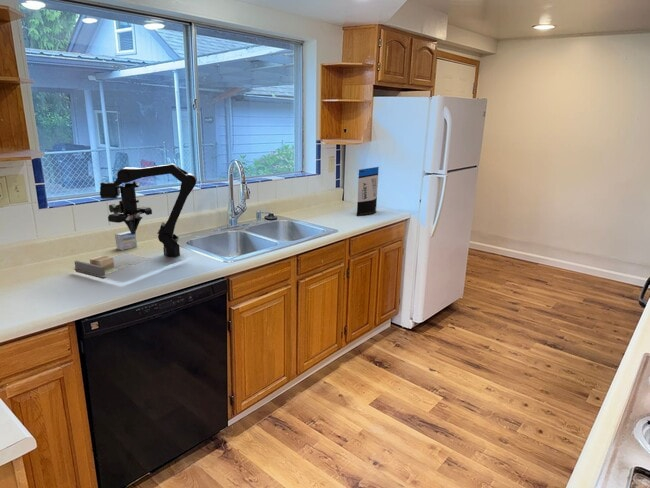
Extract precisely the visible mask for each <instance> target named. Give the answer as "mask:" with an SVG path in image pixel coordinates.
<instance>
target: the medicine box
mask: <svg viewBox="0 0 650 488" xmlns="http://www.w3.org/2000/svg"><path fill="white" fill-rule="evenodd" d="M114 238H115V245H116V246H115V247H116V249H117V250H120V251H124V250H125V251H126V250H129V249H132V248H135V247H138V240H137V232H135V234H131V232H130V230H128V231H122V232H119V233H114Z"/></svg>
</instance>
